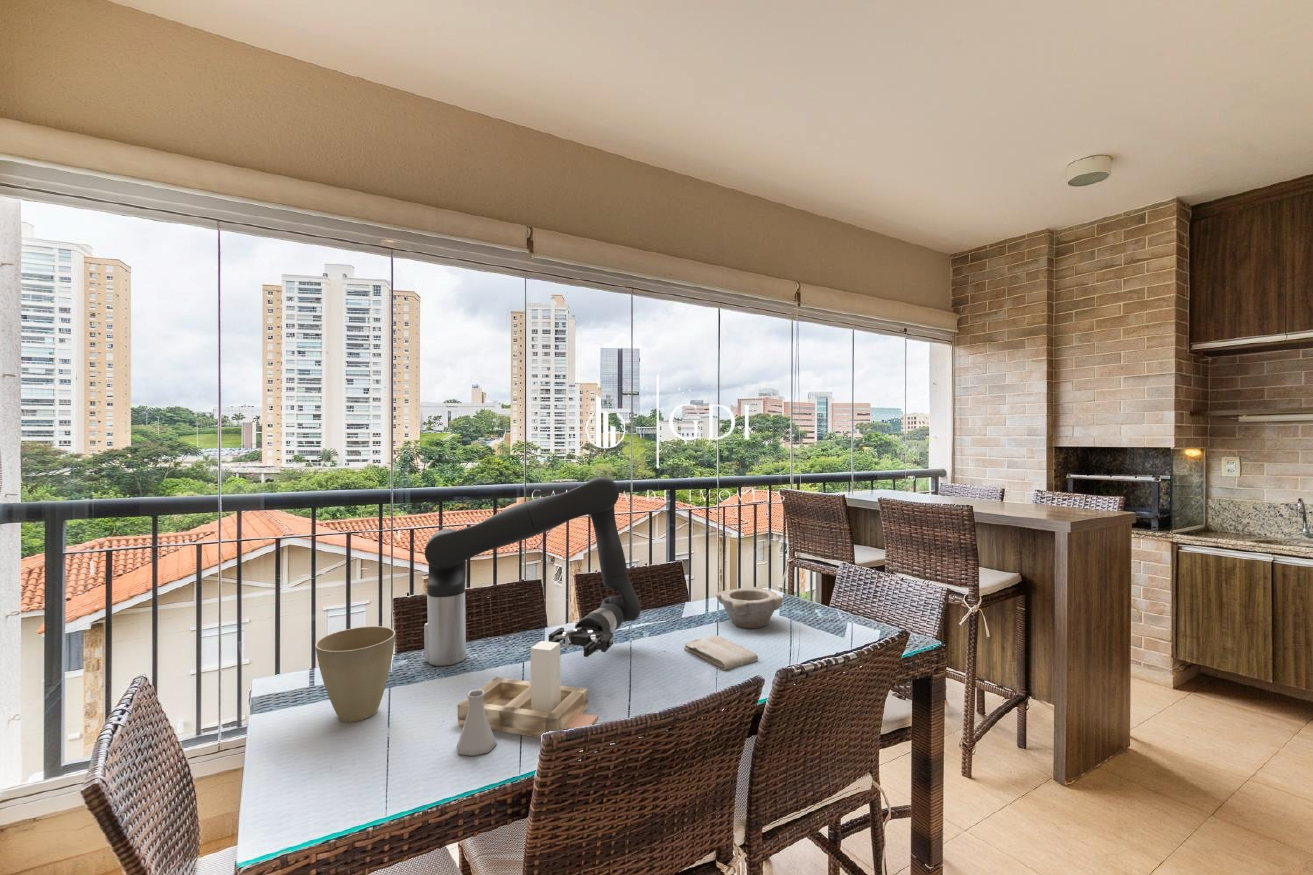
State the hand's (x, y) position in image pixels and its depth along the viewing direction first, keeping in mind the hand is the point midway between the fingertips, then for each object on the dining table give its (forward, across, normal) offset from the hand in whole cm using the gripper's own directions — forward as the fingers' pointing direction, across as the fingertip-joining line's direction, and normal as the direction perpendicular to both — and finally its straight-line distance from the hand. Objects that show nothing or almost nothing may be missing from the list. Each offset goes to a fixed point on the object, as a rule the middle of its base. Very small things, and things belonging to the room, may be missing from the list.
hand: (567, 650), depth 131 cm
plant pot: (+19, -39, +11) cm, 45 cm away
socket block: (+10, -3, +11) cm, 15 cm away
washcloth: (-34, +27, +11) cm, 45 cm away
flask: (+23, -7, +11) cm, 27 cm away
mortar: (-62, +30, +11) cm, 70 cm away
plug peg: (+10, 0, +10) cm, 14 cm away
